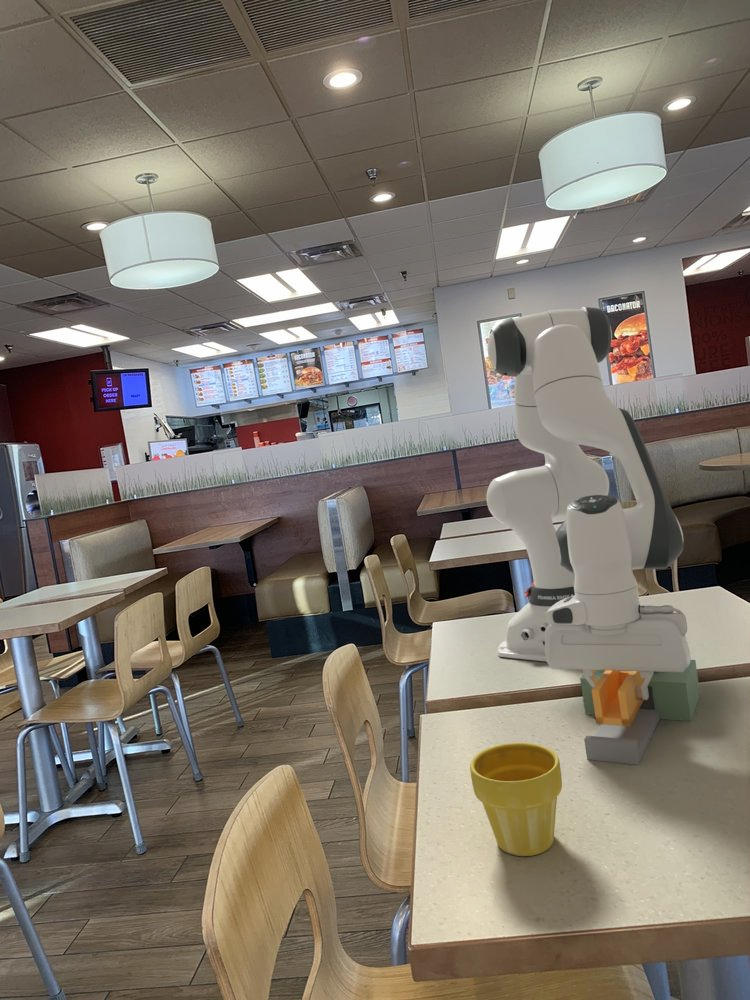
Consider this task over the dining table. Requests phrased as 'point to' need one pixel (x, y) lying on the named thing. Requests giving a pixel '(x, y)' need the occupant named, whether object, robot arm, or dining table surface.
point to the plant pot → (519, 794)
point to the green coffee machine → (643, 715)
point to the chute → (616, 697)
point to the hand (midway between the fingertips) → (621, 697)
